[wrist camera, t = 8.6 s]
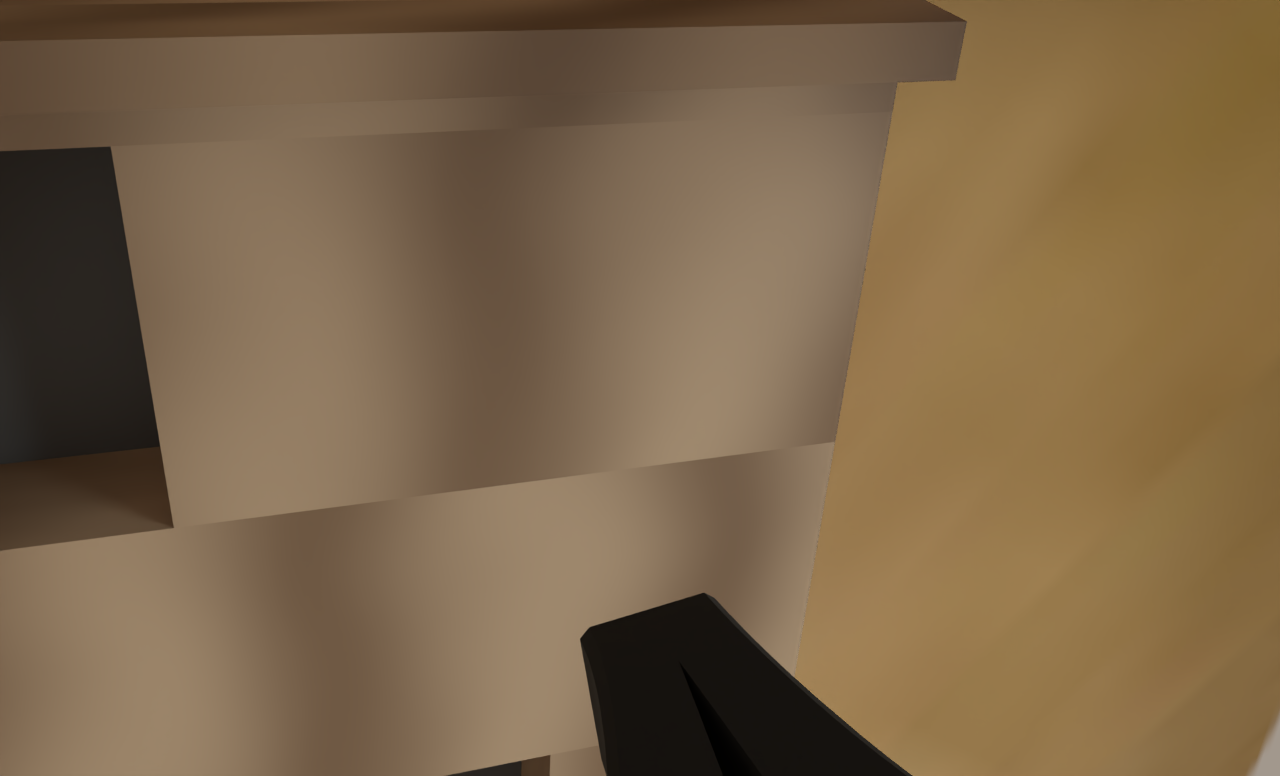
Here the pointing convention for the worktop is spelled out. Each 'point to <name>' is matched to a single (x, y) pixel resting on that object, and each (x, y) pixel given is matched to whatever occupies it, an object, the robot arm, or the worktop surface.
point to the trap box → (413, 360)
